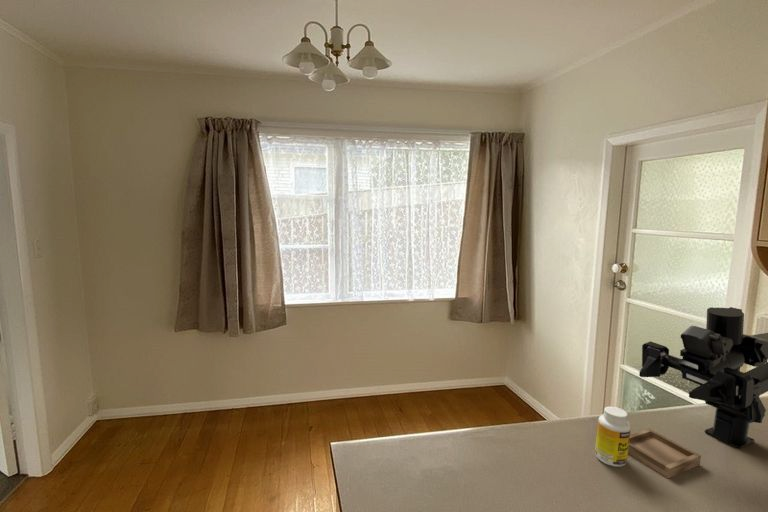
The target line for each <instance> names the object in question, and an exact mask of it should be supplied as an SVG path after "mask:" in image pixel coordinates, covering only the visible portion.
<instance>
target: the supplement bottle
mask: <svg viewBox="0 0 768 512" xmlns="http://www.w3.org/2000/svg"><path fill="white" fill-rule="evenodd" d="M628 415H629V414H628V413H627V411H626V410H624V409H622V408H620V407H615V406H606V407H605V408H604V410H603V414H601V415H599V417H598V422H597V432H596V438H595V439H596V440H595V447H594V448H595V449H594V454H595V456H596V458H597V459H598V461H599V460H600V462H602V463H603V464H605V465H608V466H610V467H615V468H621V467H623V466H626V464H627V462H628V455H629V454H628V448H629V440H630V435H631V431H632V430H631V429H632V425H631V424H630V422H629V421H628Z"/></svg>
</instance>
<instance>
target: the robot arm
mask: <svg viewBox="0 0 768 512" xmlns="http://www.w3.org/2000/svg"><path fill="white" fill-rule="evenodd" d="M744 324H745V313H744V312H743V309H741V308H736V307H732V306H730V307H707V309H706V328H703V327H699V326H697V325H690V326H688V328H687V329H685V331H684V332H682V333H681V334H680V339H681V340H682V341H681V342H682V345H683V348H682V349H680V351H679V354H680V355H679V356H680V357H677V356H674V355H672V354H670V349H669V348H668V347H667V346H665V345H662V344H660V343H656V342H653V341H647V342H645V343H643V344H642V345H641V348H642V349H641V368H640V371H639V375H638V376H639V377H640V378H660V377H661V376H662V375H665V374H666V373H667V372H668V370H669V368H671V369H675V370H677V371H679V372H680V373H681V378H682V379H683V380H684V379H685V380H687V381H689V382H691V383H694V384H697V385H698V386H696V387H695V388H693V389H691V390H690V391H689V392H688V397H689V398H690V399H694V400H700V401H704V402H705V403H704V404H706V405H708V406H711V407H713V408H715V413H714V420H713V426H712V427H709V428H707V429H705V430H704V433H705V434H707V435H710V436H711V437H714V438H715V439H718V440H720V441H722V442H724V443H726V444H728V445H730V446H733V447H735V448H737V449H742V448H744V447H746V446H749V445H750V444H751V445H752V444H753V443H755V441H756V440H755V439H754V438H751V437H749V429H750V425H751V424H752V423H753V424H754V423H757V424H762V422H763V419H764V417H766V415H765V414H766V408H765V405H764V403H763V402H762V399H761V398H760V396H762V395H764V394H765V393H767V392H768V332H763V333H758V334H751V335H750V334H744V327H745V325H744ZM681 357H682V358H681ZM744 364H745V365H748V366H750V367H753V368H752V369H749V370H747V371H745V372H743V371H741V368H742V367H743V366H744Z"/></svg>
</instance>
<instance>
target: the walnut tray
mask: <svg viewBox="0 0 768 512" xmlns="http://www.w3.org/2000/svg"><path fill="white" fill-rule="evenodd" d="M628 455H630V456H631V457H633V458H634V459H636V460H638V461H639V462H641V463H643V464H644V465H645V466H647V467H649V468H651V469H652V470H654V471H655V472H657V473H659V474H660V475H662V476H664V477H665V478H667V479H671V478H673V477H675V476H678V475H679V474H682V473H685V472H687V471H690V470H691V469H694V468H696V467H698V466H700V463H701V459H702V455H700V454H699V453H696V452H695V451H693V450H691V449H690V448H687V447H685V446H683V445H681V444H679V443H677V442H675V441H673V440H672V439H670V438H668V437H666V436H665V435H662V434H660V433H659V432H657V431H654V430H653V429H651V428H646V429H644V430H641V431H638V432H635V433H632V434H631V433H630V440H629V448H628Z"/></svg>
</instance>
